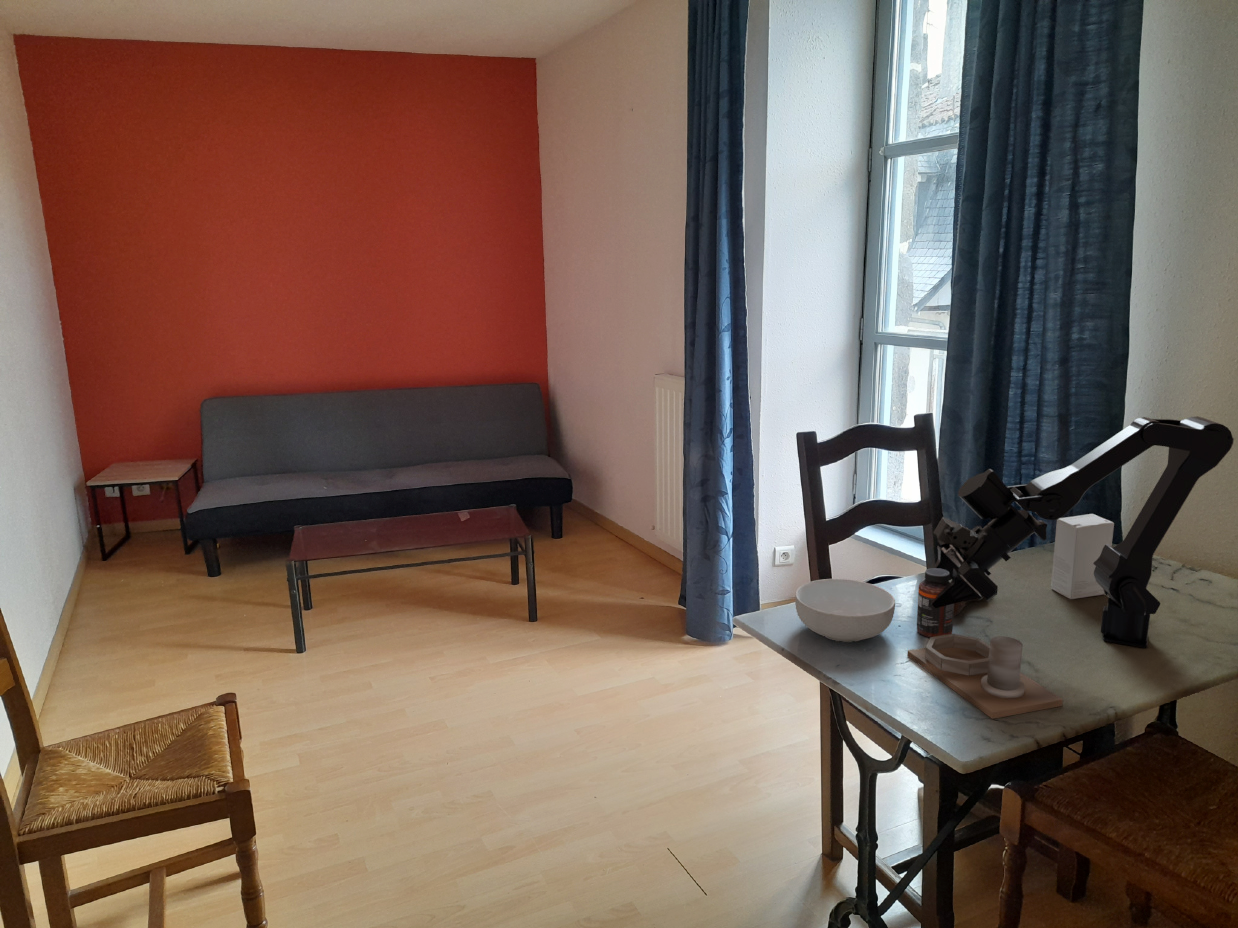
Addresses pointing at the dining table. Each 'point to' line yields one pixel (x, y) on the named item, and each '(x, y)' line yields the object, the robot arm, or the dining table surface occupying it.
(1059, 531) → the skincare box
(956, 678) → the pin board
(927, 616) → the supplement bottle
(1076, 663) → the dining table surface
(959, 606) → the bolt
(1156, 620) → the dining table surface
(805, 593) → the cereal bowl
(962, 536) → the robot arm
